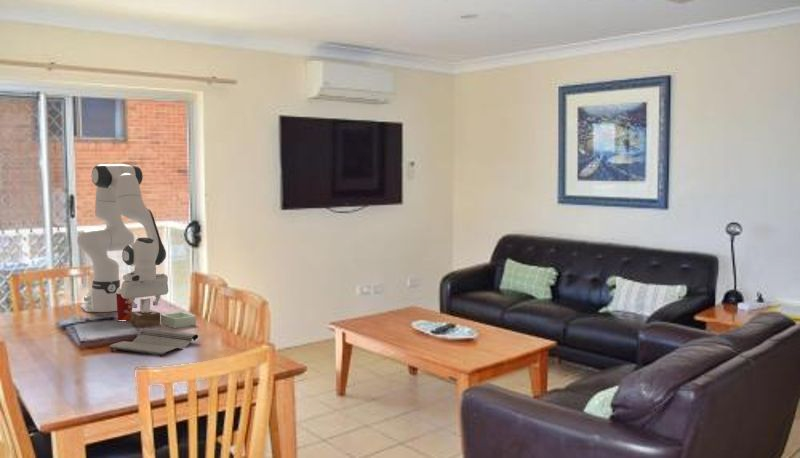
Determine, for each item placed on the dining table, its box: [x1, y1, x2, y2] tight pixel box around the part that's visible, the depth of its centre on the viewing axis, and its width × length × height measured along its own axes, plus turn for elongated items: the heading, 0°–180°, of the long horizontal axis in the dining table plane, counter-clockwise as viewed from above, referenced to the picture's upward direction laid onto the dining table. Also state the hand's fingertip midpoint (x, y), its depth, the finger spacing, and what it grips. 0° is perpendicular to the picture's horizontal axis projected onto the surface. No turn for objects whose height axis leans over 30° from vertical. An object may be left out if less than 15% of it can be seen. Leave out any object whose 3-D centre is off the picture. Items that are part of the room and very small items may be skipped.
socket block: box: [129, 309, 161, 328], centre depth 290 cm, size 9×9×5 cm
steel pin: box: [139, 297, 151, 314], centre depth 290 cm, size 4×4×11 cm
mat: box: [108, 327, 199, 358], centre depth 253 cm, size 23×24×5 cm
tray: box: [160, 311, 197, 329], centre depth 292 cm, size 12×10×4 cm
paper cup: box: [115, 288, 133, 322], centre depth 296 cm, size 8×8×14 cm
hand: (145, 306), depth 290 cm, fingers open, 8 cm apart
